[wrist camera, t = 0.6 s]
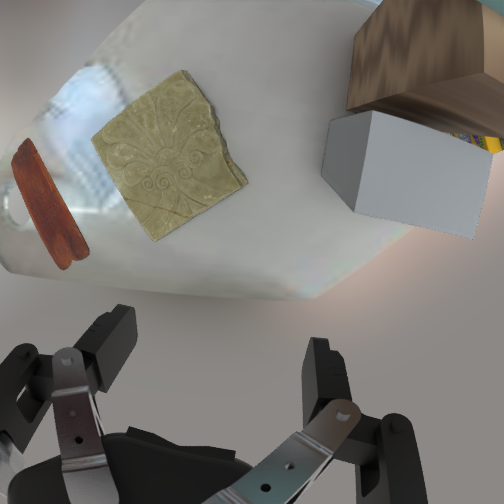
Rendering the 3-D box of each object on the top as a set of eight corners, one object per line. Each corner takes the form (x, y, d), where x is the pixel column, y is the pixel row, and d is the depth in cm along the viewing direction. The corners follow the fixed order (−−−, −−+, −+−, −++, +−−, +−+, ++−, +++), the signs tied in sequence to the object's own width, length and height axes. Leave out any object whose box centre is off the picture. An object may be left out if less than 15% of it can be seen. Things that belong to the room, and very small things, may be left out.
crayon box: (440, 104, 35) (482, 100, 25) (454, 100, 35) (497, 96, 24) (454, 149, 38) (498, 157, 27) (468, 144, 37) (512, 152, 26)
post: (354, 35, 33) (462, -89, 4) (429, 59, 33) (587, 10, 3) (345, 110, 38) (484, 72, 8) (421, 131, 38) (598, 159, 8)
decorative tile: (158, 238, 48) (150, 246, 45) (97, 137, 43) (85, 138, 40) (259, 180, 44) (257, 185, 40) (190, 67, 38) (183, 62, 35)
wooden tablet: (95, 251, 51) (90, 254, 49) (65, 271, 53) (60, 274, 52) (34, 131, 43) (28, 131, 41) (9, 160, 45) (3, 162, 44)
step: (329, 120, 39) (372, 110, 19) (407, 140, 38) (493, 153, 19) (320, 175, 42) (353, 212, 22) (397, 192, 41) (472, 239, 22)
